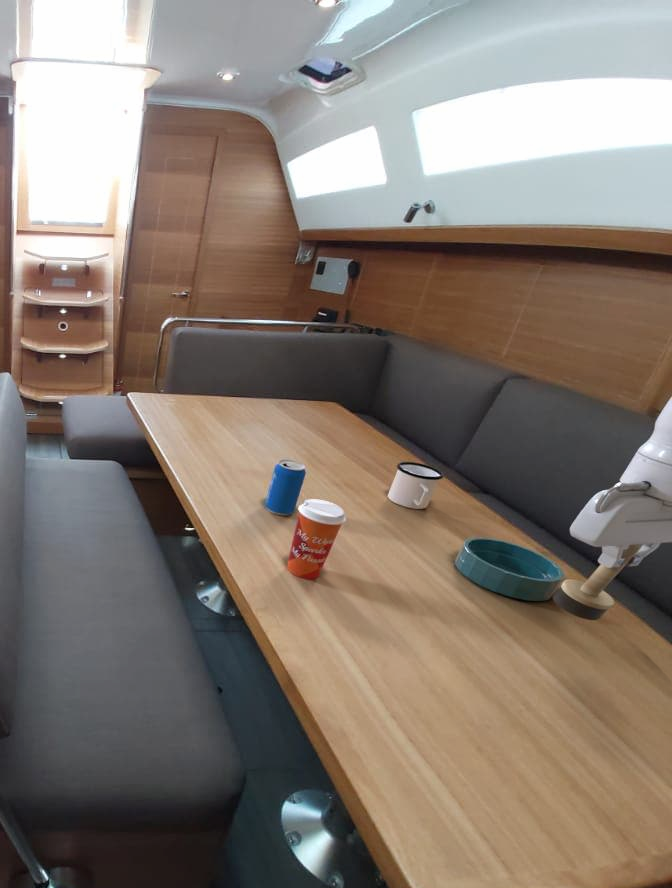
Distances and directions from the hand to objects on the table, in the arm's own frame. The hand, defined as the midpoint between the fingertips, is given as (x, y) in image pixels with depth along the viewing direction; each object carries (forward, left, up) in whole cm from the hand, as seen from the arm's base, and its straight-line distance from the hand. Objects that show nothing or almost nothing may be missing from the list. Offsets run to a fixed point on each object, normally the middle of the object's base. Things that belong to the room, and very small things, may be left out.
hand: (616, 564), depth 74 cm
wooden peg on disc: (+1, -1, -9) cm, 9 cm away
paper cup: (+38, -5, -16) cm, 41 cm away
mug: (+10, -48, -16) cm, 52 cm away
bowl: (+2, -18, -16) cm, 24 cm away
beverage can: (+41, -30, -16) cm, 53 cm away
